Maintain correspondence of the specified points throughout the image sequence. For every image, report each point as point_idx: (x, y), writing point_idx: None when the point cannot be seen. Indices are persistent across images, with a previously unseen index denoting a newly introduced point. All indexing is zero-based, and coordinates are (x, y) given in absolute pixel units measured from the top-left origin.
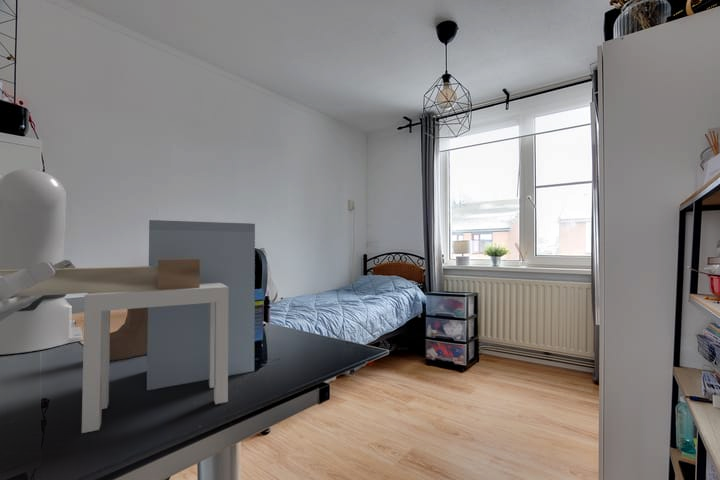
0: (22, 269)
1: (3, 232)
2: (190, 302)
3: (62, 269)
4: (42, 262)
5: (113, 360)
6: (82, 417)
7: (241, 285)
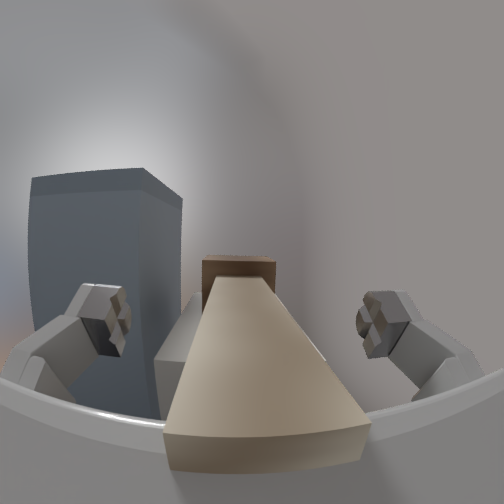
0: (187, 376)
1: None
2: None
3: (290, 317)
4: (404, 292)
5: None
6: None
7: (177, 292)
